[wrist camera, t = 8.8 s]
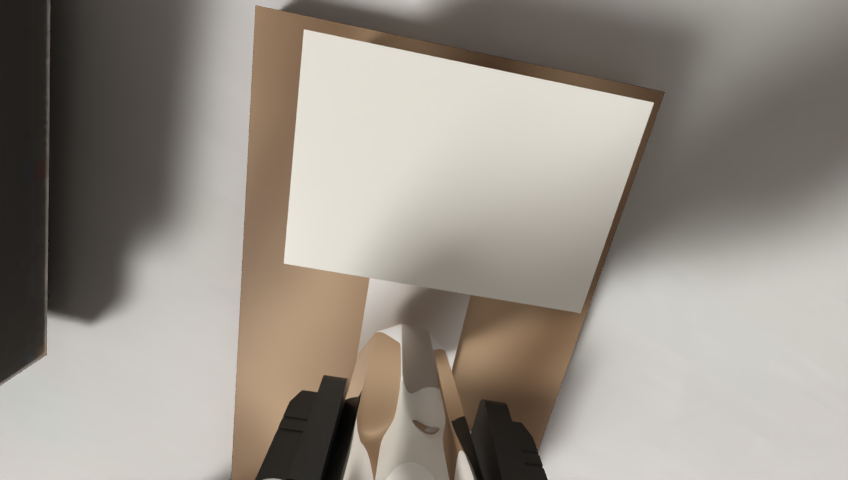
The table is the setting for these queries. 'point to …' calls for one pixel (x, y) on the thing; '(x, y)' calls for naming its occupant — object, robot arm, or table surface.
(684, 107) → the table surface
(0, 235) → the voltmeter
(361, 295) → the rail board
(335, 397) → the robot arm
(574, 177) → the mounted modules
